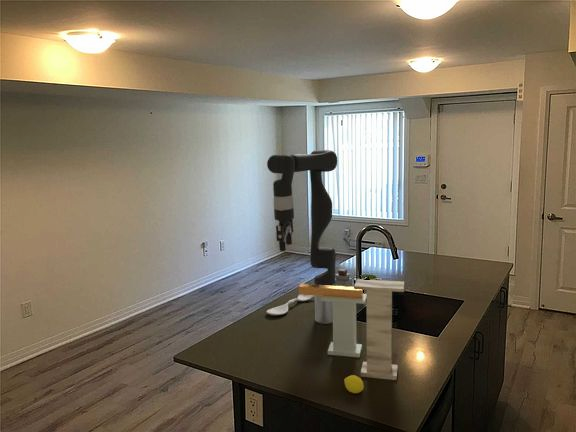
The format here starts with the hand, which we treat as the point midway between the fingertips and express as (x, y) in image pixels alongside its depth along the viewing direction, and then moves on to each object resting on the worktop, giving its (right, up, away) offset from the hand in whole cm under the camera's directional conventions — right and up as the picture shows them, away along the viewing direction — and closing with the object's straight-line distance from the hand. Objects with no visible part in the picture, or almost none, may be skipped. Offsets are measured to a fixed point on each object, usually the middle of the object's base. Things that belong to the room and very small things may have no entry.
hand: (285, 247), depth 186 cm
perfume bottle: (+27, -31, +44) cm, 60 cm away
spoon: (+2, -32, +45) cm, 55 cm away
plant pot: (+42, -28, +61) cm, 79 cm away
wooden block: (+17, -18, -6) cm, 25 cm away
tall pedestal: (+32, -42, -21) cm, 57 cm away
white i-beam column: (+23, -39, -4) cm, 46 cm away
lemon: (+22, -45, -32) cm, 59 cm away
